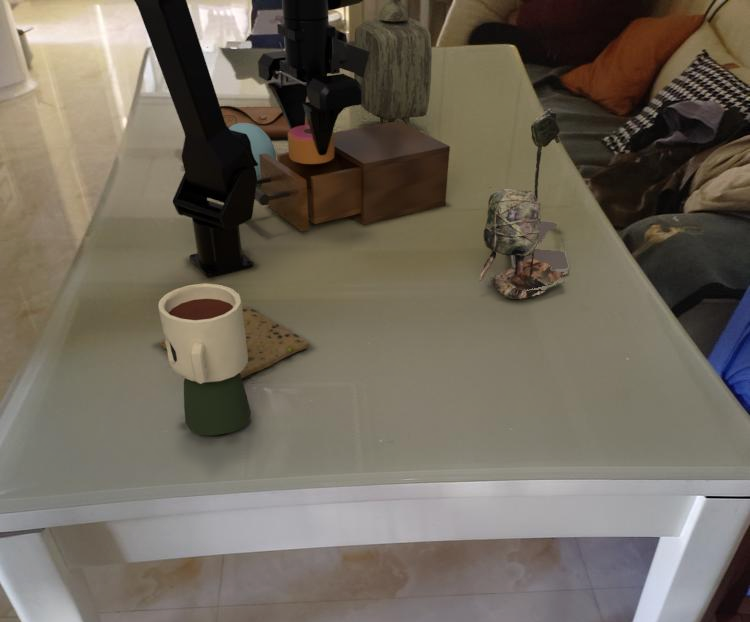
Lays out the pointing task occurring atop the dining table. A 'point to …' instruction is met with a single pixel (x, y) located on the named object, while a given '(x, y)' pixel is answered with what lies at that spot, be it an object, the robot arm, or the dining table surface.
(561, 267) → the smartphone
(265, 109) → the sunglasses case
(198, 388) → the character mug
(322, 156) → the donut
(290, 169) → the drawer
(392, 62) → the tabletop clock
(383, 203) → the cabinet
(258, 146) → the light blue ball
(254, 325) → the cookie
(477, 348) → the dining table surface
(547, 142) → the plant with pod
